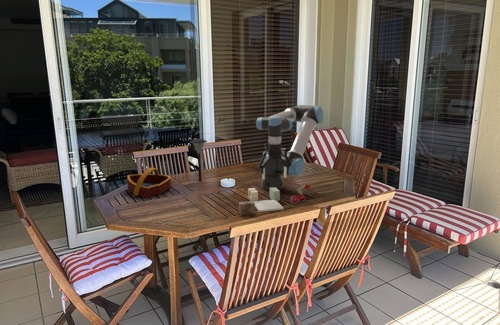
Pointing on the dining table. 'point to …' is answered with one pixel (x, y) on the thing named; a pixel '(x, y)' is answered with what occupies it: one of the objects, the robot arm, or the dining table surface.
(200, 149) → the solar garden light
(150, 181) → the decorative basket
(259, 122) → the robot arm
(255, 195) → the birch brick
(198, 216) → the dining table surface
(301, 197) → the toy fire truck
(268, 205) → the grey plate
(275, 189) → the sage brick
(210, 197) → the dining table surface
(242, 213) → the walnut brick
